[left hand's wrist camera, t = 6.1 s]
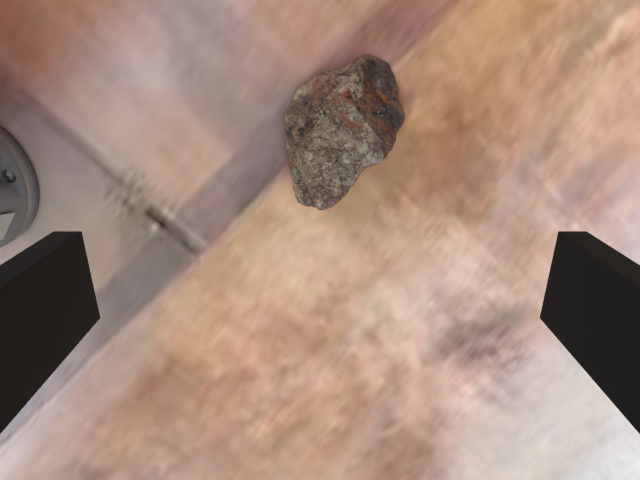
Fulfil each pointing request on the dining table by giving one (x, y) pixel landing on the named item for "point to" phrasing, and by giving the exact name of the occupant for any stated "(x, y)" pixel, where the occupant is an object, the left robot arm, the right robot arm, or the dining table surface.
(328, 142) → the rock
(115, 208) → the dining table surface
